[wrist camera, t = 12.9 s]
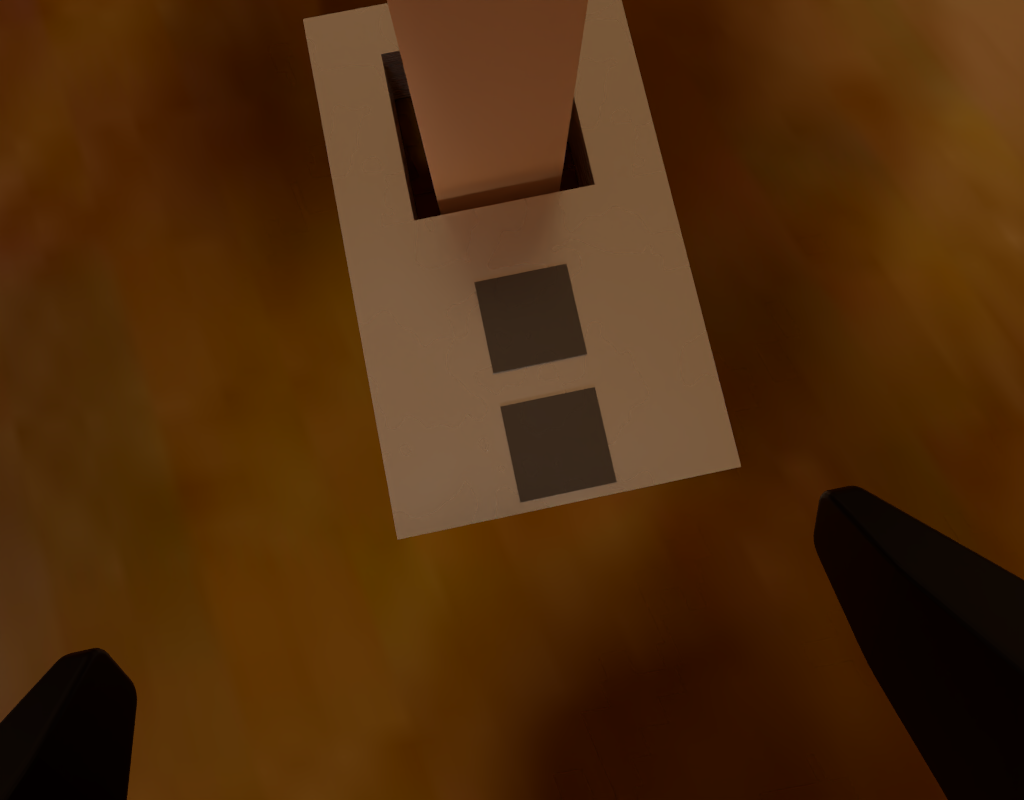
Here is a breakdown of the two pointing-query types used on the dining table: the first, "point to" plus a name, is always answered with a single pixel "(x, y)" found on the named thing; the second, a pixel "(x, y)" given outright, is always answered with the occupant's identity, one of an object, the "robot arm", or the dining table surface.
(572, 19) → the square peg
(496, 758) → the dining table surface
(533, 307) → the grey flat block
